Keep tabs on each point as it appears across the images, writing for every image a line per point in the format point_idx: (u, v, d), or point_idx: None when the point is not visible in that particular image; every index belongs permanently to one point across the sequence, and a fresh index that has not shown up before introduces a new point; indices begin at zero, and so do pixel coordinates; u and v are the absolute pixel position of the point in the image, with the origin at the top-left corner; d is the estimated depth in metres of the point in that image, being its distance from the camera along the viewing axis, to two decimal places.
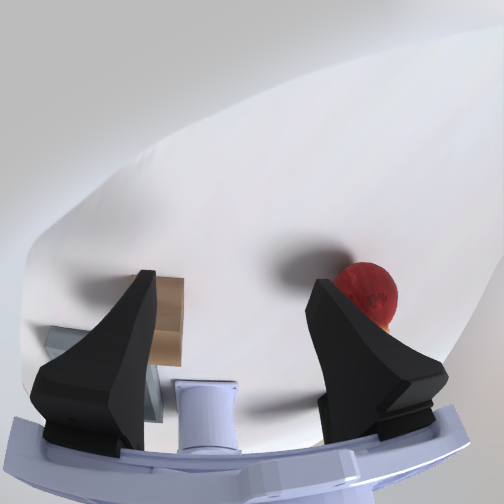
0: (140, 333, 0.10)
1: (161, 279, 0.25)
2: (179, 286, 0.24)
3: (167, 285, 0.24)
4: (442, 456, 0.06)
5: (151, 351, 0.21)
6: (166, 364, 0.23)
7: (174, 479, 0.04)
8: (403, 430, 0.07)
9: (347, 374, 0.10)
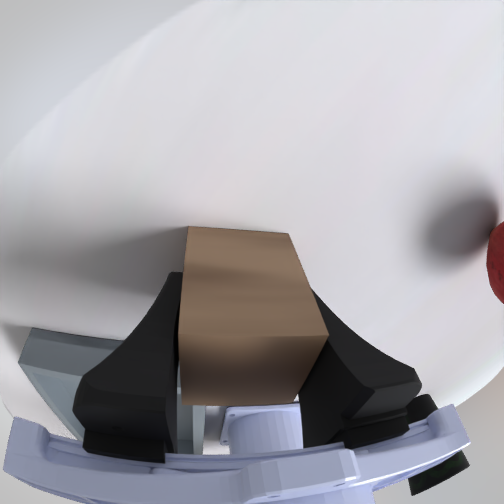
0: (176, 336, 0.10)
1: (247, 234, 0.13)
2: (286, 246, 0.13)
3: (262, 243, 0.13)
4: (442, 456, 0.06)
5: (242, 382, 0.10)
6: (265, 402, 0.11)
7: (174, 479, 0.04)
8: (371, 439, 0.07)
9: (315, 377, 0.10)
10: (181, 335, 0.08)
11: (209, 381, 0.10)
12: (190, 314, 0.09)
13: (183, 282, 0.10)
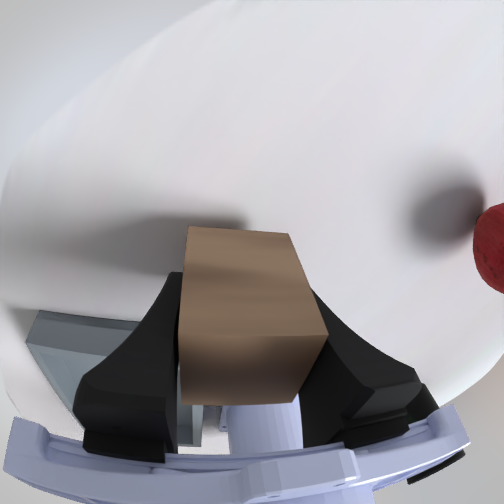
0: (176, 336, 0.10)
1: (247, 234, 0.13)
2: (286, 246, 0.13)
3: (262, 243, 0.13)
4: (442, 456, 0.06)
5: (242, 382, 0.10)
6: (265, 402, 0.11)
7: (174, 479, 0.04)
8: (371, 439, 0.07)
9: (315, 377, 0.10)
10: (181, 335, 0.08)
11: (209, 381, 0.10)
12: (190, 314, 0.09)
13: (183, 282, 0.10)
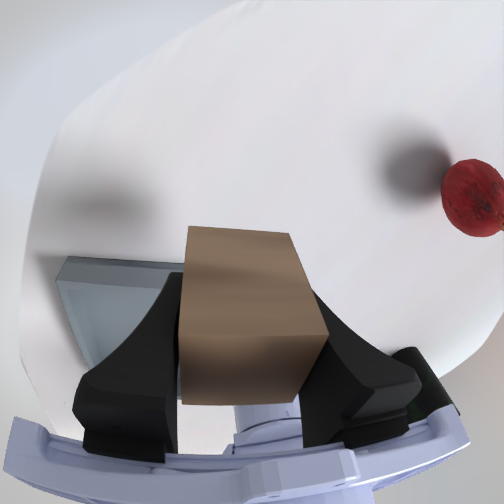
0: (176, 336, 0.10)
1: (247, 234, 0.13)
2: (287, 246, 0.13)
3: (262, 243, 0.13)
4: (442, 456, 0.06)
5: (243, 382, 0.10)
6: (265, 402, 0.11)
7: (174, 479, 0.04)
8: (371, 439, 0.07)
9: (315, 377, 0.10)
10: (181, 334, 0.08)
11: (208, 381, 0.10)
12: (190, 313, 0.09)
13: (183, 281, 0.10)
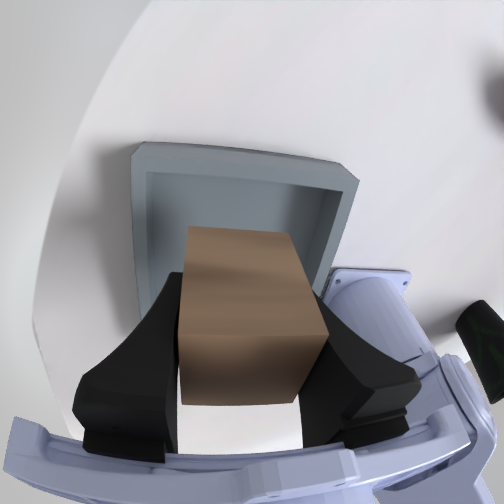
0: (176, 336, 0.10)
1: (247, 234, 0.13)
2: (286, 246, 0.13)
3: (262, 243, 0.13)
4: (442, 456, 0.06)
5: (243, 382, 0.10)
6: (265, 402, 0.11)
7: (174, 479, 0.04)
8: (371, 439, 0.07)
9: (315, 377, 0.10)
10: (181, 334, 0.08)
11: (208, 381, 0.10)
12: (190, 313, 0.09)
13: (183, 281, 0.10)
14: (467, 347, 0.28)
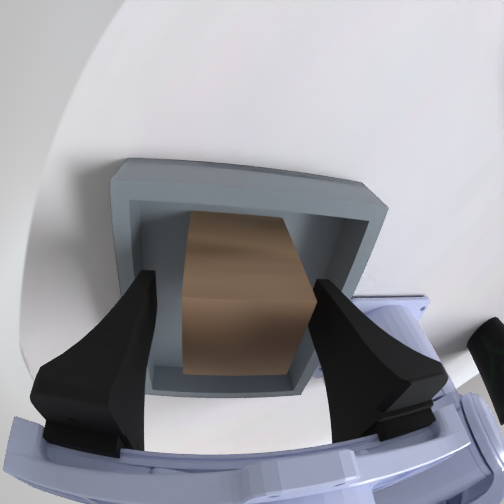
0: (140, 333, 0.10)
1: (244, 217, 0.14)
2: (280, 228, 0.14)
3: (258, 225, 0.14)
4: (442, 456, 0.06)
5: (239, 349, 0.11)
6: (260, 372, 0.12)
7: (174, 479, 0.04)
8: (403, 430, 0.07)
9: (347, 374, 0.10)
10: (184, 298, 0.09)
11: (208, 348, 0.11)
12: (192, 281, 0.10)
13: (186, 255, 0.11)
14: (479, 367, 0.25)
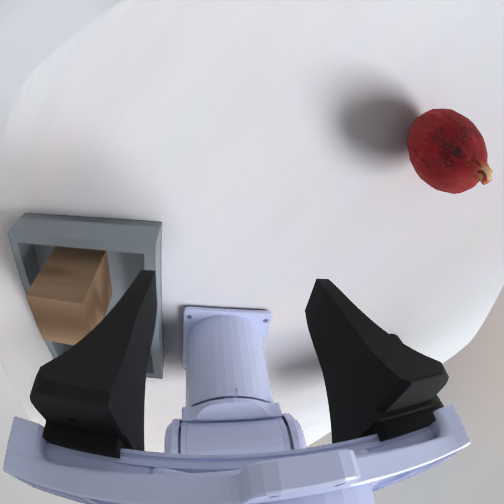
0: (140, 333, 0.10)
1: (83, 249, 0.20)
2: (98, 257, 0.20)
3: (86, 255, 0.20)
4: (442, 456, 0.06)
5: (61, 327, 0.17)
6: None
7: (174, 479, 0.04)
8: (403, 430, 0.07)
9: (347, 374, 0.10)
10: (26, 295, 0.15)
11: (47, 324, 0.17)
12: (33, 288, 0.16)
13: (38, 274, 0.17)
14: None
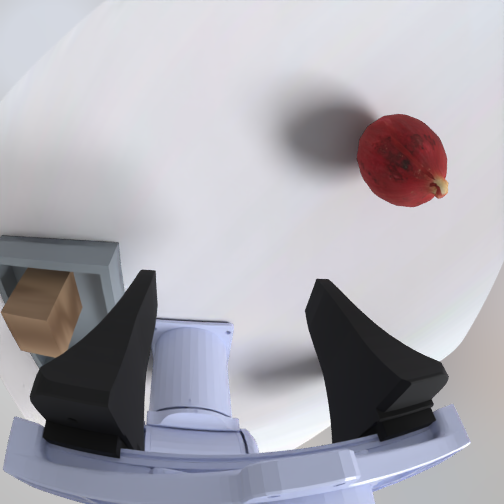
0: (140, 333, 0.10)
1: None
2: (64, 276, 0.20)
3: (54, 274, 0.20)
4: (442, 456, 0.06)
5: (33, 340, 0.18)
6: (51, 355, 0.19)
7: (174, 479, 0.04)
8: (403, 430, 0.07)
9: (347, 374, 0.10)
10: (1, 313, 0.16)
11: (21, 337, 0.17)
12: (7, 305, 0.16)
13: (12, 292, 0.18)
14: None
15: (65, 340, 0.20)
